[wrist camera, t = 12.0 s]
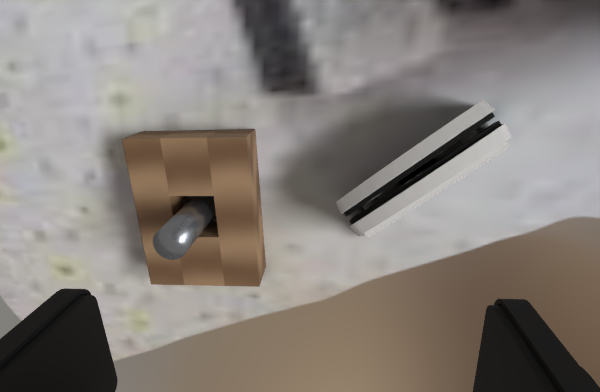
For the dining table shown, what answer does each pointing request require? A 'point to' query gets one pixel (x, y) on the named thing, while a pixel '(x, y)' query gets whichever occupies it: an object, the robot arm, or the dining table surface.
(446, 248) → the dining table surface
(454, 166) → the grey half-round piece
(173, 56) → the dining table surface
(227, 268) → the block with square hole
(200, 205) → the pin
